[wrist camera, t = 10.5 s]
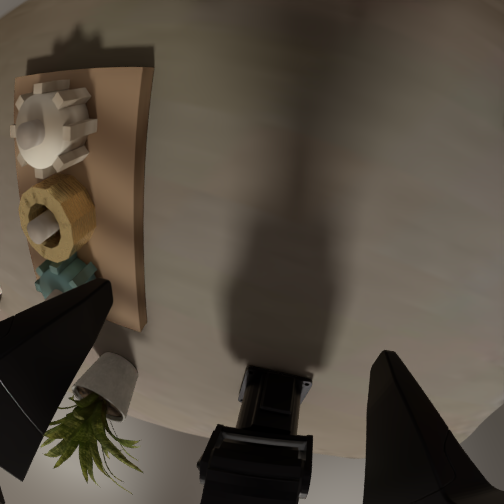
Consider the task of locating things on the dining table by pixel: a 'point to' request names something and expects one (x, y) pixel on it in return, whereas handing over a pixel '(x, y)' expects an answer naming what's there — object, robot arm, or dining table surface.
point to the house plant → (96, 414)
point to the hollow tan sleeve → (60, 215)
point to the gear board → (89, 174)
